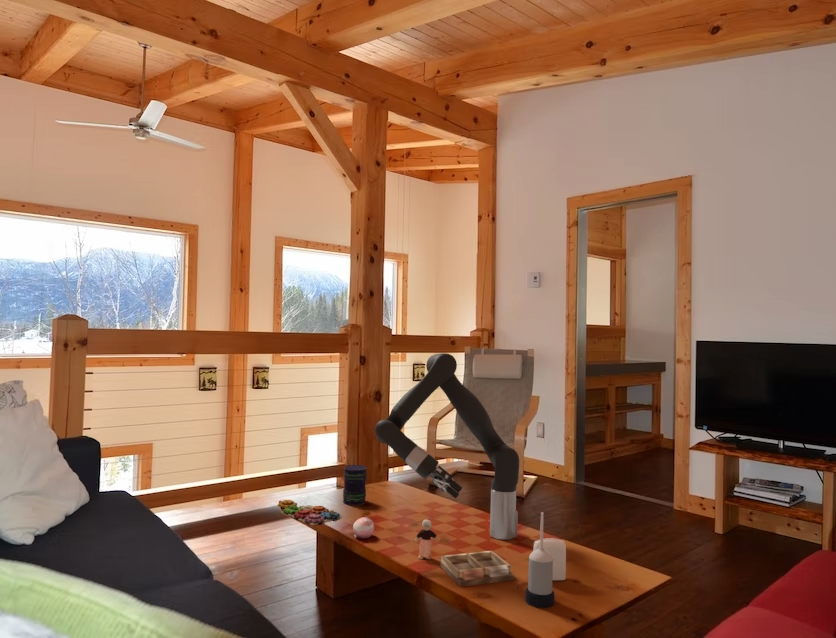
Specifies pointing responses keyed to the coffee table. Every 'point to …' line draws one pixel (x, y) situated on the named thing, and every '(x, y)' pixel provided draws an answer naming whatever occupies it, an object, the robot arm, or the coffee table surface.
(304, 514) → the gear puzzle
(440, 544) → the coffee table surface
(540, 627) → the coffee table surface
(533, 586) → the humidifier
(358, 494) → the storage jar
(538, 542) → the photo printer
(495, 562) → the wooden divided tray
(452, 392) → the robot arm
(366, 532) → the onion
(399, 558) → the coffee table surface
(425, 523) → the grandmother figurine
